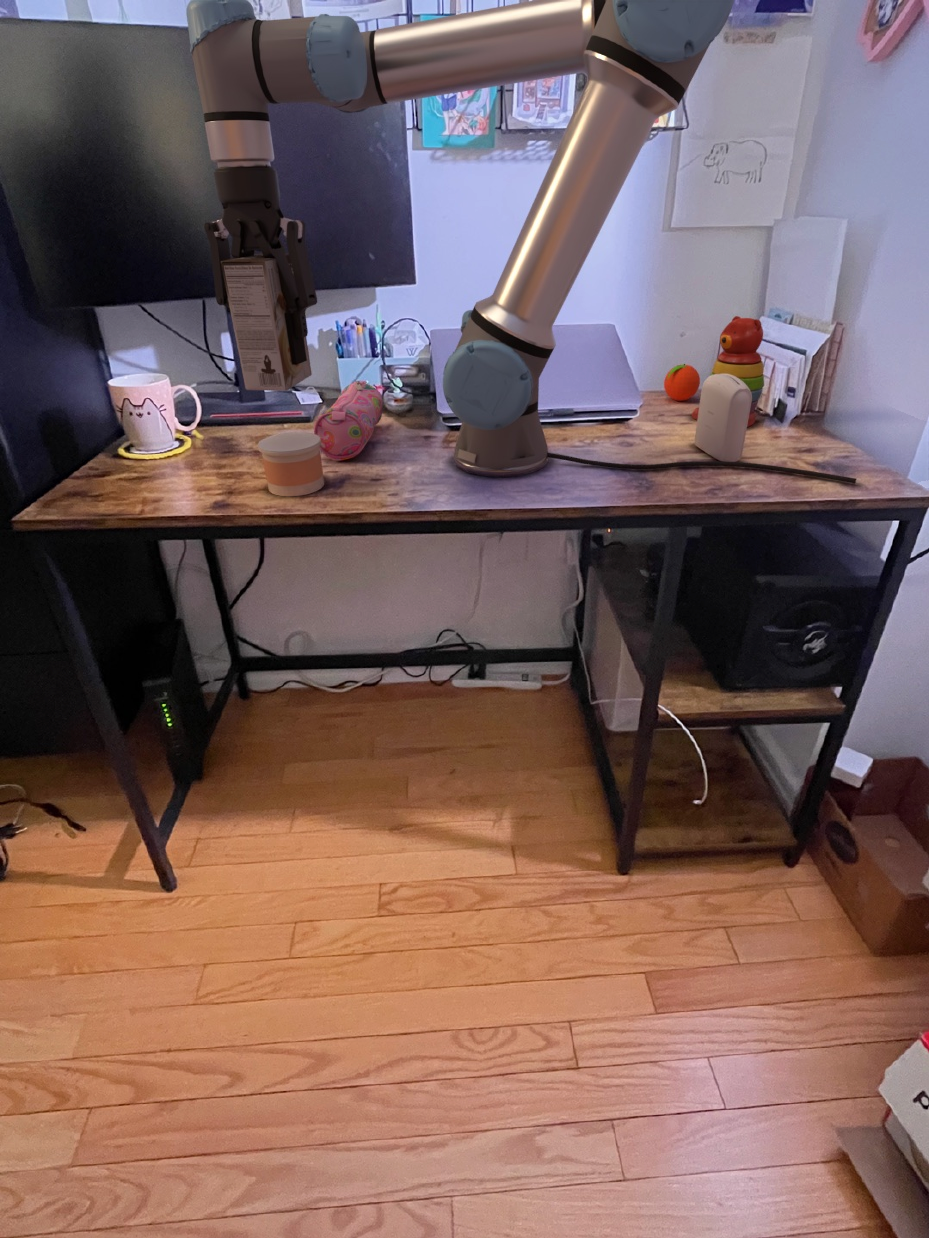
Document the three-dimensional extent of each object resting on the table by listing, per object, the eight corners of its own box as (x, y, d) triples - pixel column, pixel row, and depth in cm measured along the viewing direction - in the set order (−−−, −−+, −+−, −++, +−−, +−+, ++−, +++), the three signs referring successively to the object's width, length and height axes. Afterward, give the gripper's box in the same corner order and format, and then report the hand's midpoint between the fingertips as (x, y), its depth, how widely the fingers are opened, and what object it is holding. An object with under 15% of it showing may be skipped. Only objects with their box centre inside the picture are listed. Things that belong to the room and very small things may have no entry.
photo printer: (689, 444, 119) (700, 369, 113) (713, 442, 120) (725, 367, 113) (719, 464, 111) (733, 384, 104) (744, 462, 111) (759, 382, 105)
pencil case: (341, 425, 134) (335, 377, 129) (388, 425, 133) (384, 376, 129) (313, 464, 116) (305, 409, 111) (368, 463, 115) (362, 408, 111)
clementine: (677, 407, 138) (682, 370, 134) (651, 400, 143) (655, 364, 139) (704, 400, 142) (710, 364, 138) (678, 394, 147) (682, 358, 143)
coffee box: (272, 375, 104) (252, 253, 95) (313, 375, 103) (296, 252, 94) (244, 390, 96) (219, 260, 88) (287, 391, 95) (266, 259, 87)
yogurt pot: (337, 478, 110) (331, 434, 106) (307, 500, 103) (300, 454, 99) (286, 473, 113) (279, 429, 109) (253, 493, 105) (244, 448, 102)
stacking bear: (687, 416, 133) (701, 315, 124) (732, 410, 136) (750, 311, 126) (721, 432, 124) (739, 325, 115) (769, 425, 127) (791, 320, 117)
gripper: (330, 163, 86) (351, 359, 98) (197, 168, 92) (232, 352, 104) (298, 162, 80) (325, 371, 92) (158, 168, 86) (200, 363, 98)
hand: (276, 361), depth 98 cm, fingers closed on coffee box, 7 cm apart
